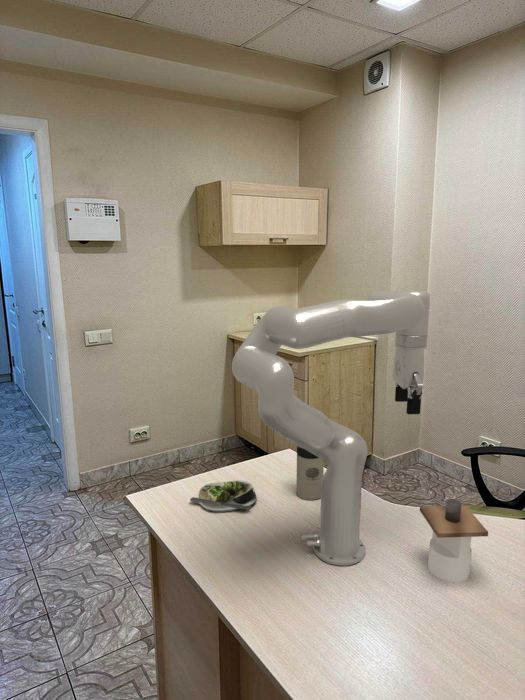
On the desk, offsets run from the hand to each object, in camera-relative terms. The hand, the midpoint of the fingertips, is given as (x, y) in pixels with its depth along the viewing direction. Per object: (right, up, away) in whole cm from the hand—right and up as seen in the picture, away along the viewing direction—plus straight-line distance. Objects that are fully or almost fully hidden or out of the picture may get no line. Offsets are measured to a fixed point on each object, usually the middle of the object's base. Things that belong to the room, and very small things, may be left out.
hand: (406, 407), depth 125 cm
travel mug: (-22, -29, +24) cm, 44 cm away
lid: (+6, -25, -13) cm, 29 cm away
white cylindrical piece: (+6, -37, -10) cm, 39 cm away
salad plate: (-46, -30, +22) cm, 59 cm away
